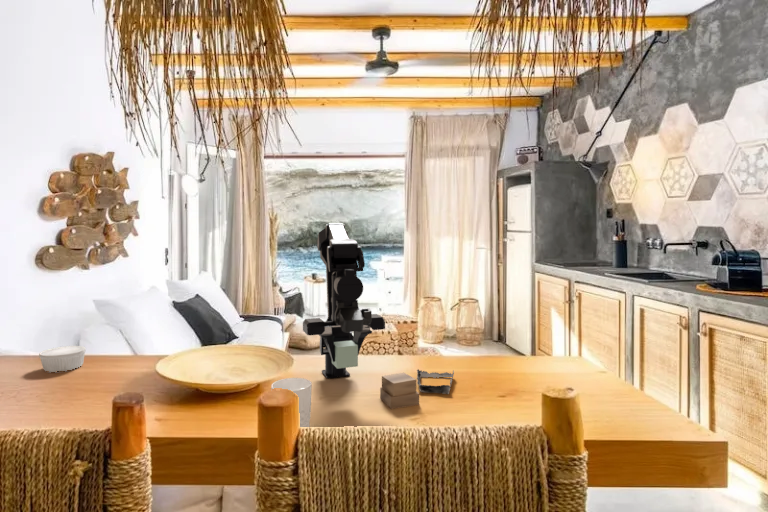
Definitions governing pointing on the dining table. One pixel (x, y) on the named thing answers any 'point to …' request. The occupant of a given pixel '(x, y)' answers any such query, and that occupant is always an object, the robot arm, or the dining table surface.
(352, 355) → the sage cube
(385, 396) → the slab base
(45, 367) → the ramekin
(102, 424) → the dining table surface
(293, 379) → the white cup
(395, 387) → the slab top
